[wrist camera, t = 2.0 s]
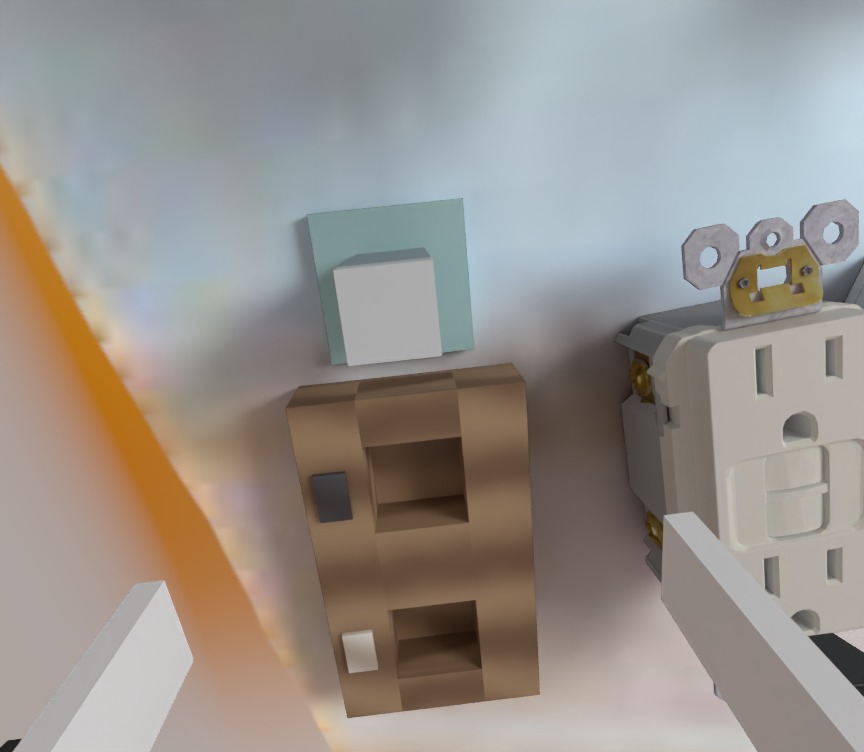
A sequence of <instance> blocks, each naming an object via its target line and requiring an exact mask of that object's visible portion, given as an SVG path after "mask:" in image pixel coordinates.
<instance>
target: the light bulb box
mask: <svg viewBox="0 0 864 752" xmlns="http://www.w3.org/2000/svg"><path fill="white" fill-rule="evenodd" d="M845 303H849V304H856V305H858V306H860V307H861V308H862V309H863V310H864V264H863V266H862V268H861V270H860V272H859V274H858V276H857V278H856V280H855V282H854V285H853V286H852V288H851V290H850V292H849V294H848V296H847V298H846V301H845Z"/></svg>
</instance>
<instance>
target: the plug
mask: <svg viewBox="0 0 864 752" xmlns="http://www.w3.org/2000/svg"><path fill="white" fill-rule="evenodd" d="M333 273H334V280H335V286H336V293H337V299H338V305H339V312H340V318H341V325H342V331H343V337H344V344H345V350H346V357H347V363H348V366H356V365H365V364H374V363H383V362H392V361H401V360H410V359H420V358H429V357H438V356H442V348H441V338H440V328H439V317H438V307H437V297H436V286H435V276H434V265H433V259H432V258H431V256H430V255H429V254H428V252H427V251H426V249H425V248H424V247H423V248H413V249H404V250H394V251H385V252H375V253H366V254H357V255H355V256H354V257H352V258H351V259H349V260H348V261H346V262H345V263H343V264H342V265H340V266H339V267H337V268H336V269H334V270H333Z"/></svg>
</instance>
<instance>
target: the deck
mask: <svg viewBox="0 0 864 752" xmlns="http://www.w3.org/2000/svg"><path fill="white" fill-rule="evenodd" d="M307 219H308V225H309V231H310V237H311V243H312V249H313V255H314V261H315V267H316V273H317V279H318V285H319V291H320V297H321V303H322V309H323V315H324V321H325V327H326V333H327V339H328V345H329V351H330V357H331V363H332V365H333V364H343V363H347V357H346V350H345V344H344V337H343V331H342V325H341V318H340V312H339V305H338V299H337V293H336V286H335V280H334V273H333V270H334V269H336V268H337V267H339V266H340V265H342V264H343V263H345V262H346V261H348V260H349V259H351V258H352V257H354V256H355V255H357V254H366V253H375V252H385V251H394V250H404V249H413V248H423V247H424V248H425V249H426V251H427V252H428V254H429V255H430V256H431V258H432V259H433V265H434V276H435V286H436V297H437V307H438V317H439V328H440V338H441V348H442V353H443V352H452V351H461V350H471V349H474V339H473V326H472V313H471V300H470V287H469V274H468V261H467V247H466V234H465V221H464V208H463V198H461V199H451V200H442V201H432V202H422V203H413V204H403V205H393V206H384V207H374V208H364V209H355V210H345V211H335V212H326V213H316V214H307Z"/></svg>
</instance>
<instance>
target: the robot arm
mask: <svg viewBox="0 0 864 752" xmlns="http://www.w3.org/2000/svg"><path fill="white" fill-rule="evenodd" d="M661 600H662V602H663V603H664V605H665V606H666V608H667V610H668V611H669V613H670V614H671V616H672V617H673V619H674V621H675V622H676V624H677V625H678V627H679V628H680V630H681V632H682V633H683V635H684V636H685V638H686V640H687V641H688V643H689V644H690V646H691V647H692V649H693V651H694V652H695V654H696V655H697V657H698V658H699V660H700V662H701V663H702V665H703V666H704V668H705V669H706V671H707V673H708V674H709V676H710V677H711V679H712V681H713V682H714V684H715V685H716V687H717V688H718V690H719V692H720V693H721V695H722V696H723V698H724V699H725V701H726V703H727V704H728V706H729V707H730V709H731V710H732V712H733V714H734V715H735V717H736V718H737V720H738V722H739V723H740V725H741V726H742V728H743V729H744V731H745V733H746V734H747V736H748V737H749V739H750V740H751V742H752V744H753V745H754V747H755V748H756V750H757V751H758V752H864V653H863V652H862V651H860V650H859V649H857V648H856V647H854V646H852V645H851V644H849V643H848V642H846V641H845V640H843V639H841V638H840V637H838V636H837V635H835V634H834V633H827V634H819V635H811V636H807V635H806V634H805V633H804V632H803V631H802V630H801V628H800V627H799V626H798V625H797V624H796V623H795V622H794V621H793V620H792V619H791V618H790V616H789V615H788V614H787V613H786V612H785V611H784V610H783V609H782V608H781V607H780V606H779V605H778V603H777V602H776V601H775V600H774V599H773V598H772V597H771V596H770V595H769V594H768V593H767V591H766V590H765V589H764V588H763V587H762V586H761V585H760V584H759V583H758V582H757V581H756V580H755V578H754V577H753V576H752V575H751V574H750V573H749V572H748V571H747V570H746V569H745V568H744V567H743V565H742V564H741V563H740V562H739V561H738V560H737V559H736V558H735V557H734V556H733V555H732V553H731V552H730V551H729V550H728V549H727V548H726V547H725V546H724V545H723V544H722V543H721V542H720V540H719V539H718V538H717V537H716V536H715V535H714V534H713V533H712V532H711V531H710V530H709V528H708V527H707V526H706V525H705V524H704V523H703V522H702V521H701V520H700V519H699V518H698V517H697V515H696V514H695V513H694V512H685V513H677V514H670V515H664V519H663V551H662V583H661ZM193 660H194V659H193V656H192V654H191V651H190V648H189V646H188V643H187V640H186V638H185V635H184V632H183V629H182V627H181V624H180V621H179V619H178V616H177V613H176V610H175V608H174V605H173V602H172V600H171V597H170V594H169V591H168V589H167V586H166V583H165V581H164V580H161V581H154V582H146V583H139V584H135V585H134V586H133V588H132V589H131V591H130V592H129V593H128V595H127V596H126V598H125V599H124V600H123V601H122V603H121V604H120V606H119V607H118V608H117V610H116V611H115V612H114V614H113V615H112V617H111V618H110V619H109V621H108V622H107V623H106V625H105V626H104V627H103V629H102V630H101V632H100V633H99V634H98V636H97V637H96V638H95V640H94V641H93V643H92V644H91V645H90V647H89V648H88V649H87V651H86V652H85V653H84V655H83V656H82V658H81V659H80V661H79V662H78V663H77V664H76V666H75V667H74V668H73V670H72V671H71V673H70V674H69V675H68V677H67V678H66V680H65V681H64V682H63V684H62V685H61V686H60V688H59V689H58V690H57V692H56V693H55V694H54V696H53V697H52V699H51V700H50V701H49V703H48V704H47V705H46V707H45V708H44V710H43V711H42V712H41V714H40V715H39V716H38V718H37V719H36V721H35V722H34V723H33V725H32V726H31V727H30V729H29V730H28V731H27V733H26V734H25V736H24V737H23V738H22V739H16V740H9V741H7V742H6V743H5V744H4V745H3V746H2V747H0V752H150V750H151V748H152V746H153V744H154V742H155V739H156V737H157V735H158V733H159V731H160V729H161V727H162V725H163V723H164V721H165V718H166V716H167V714H168V712H169V710H170V708H171V706H172V704H173V702H174V700H175V698H176V696H177V694H178V691H179V689H180V687H181V685H182V683H183V681H184V679H185V677H186V675H187V673H188V671H189V669H190V666H191V664H192V662H193Z"/></svg>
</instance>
